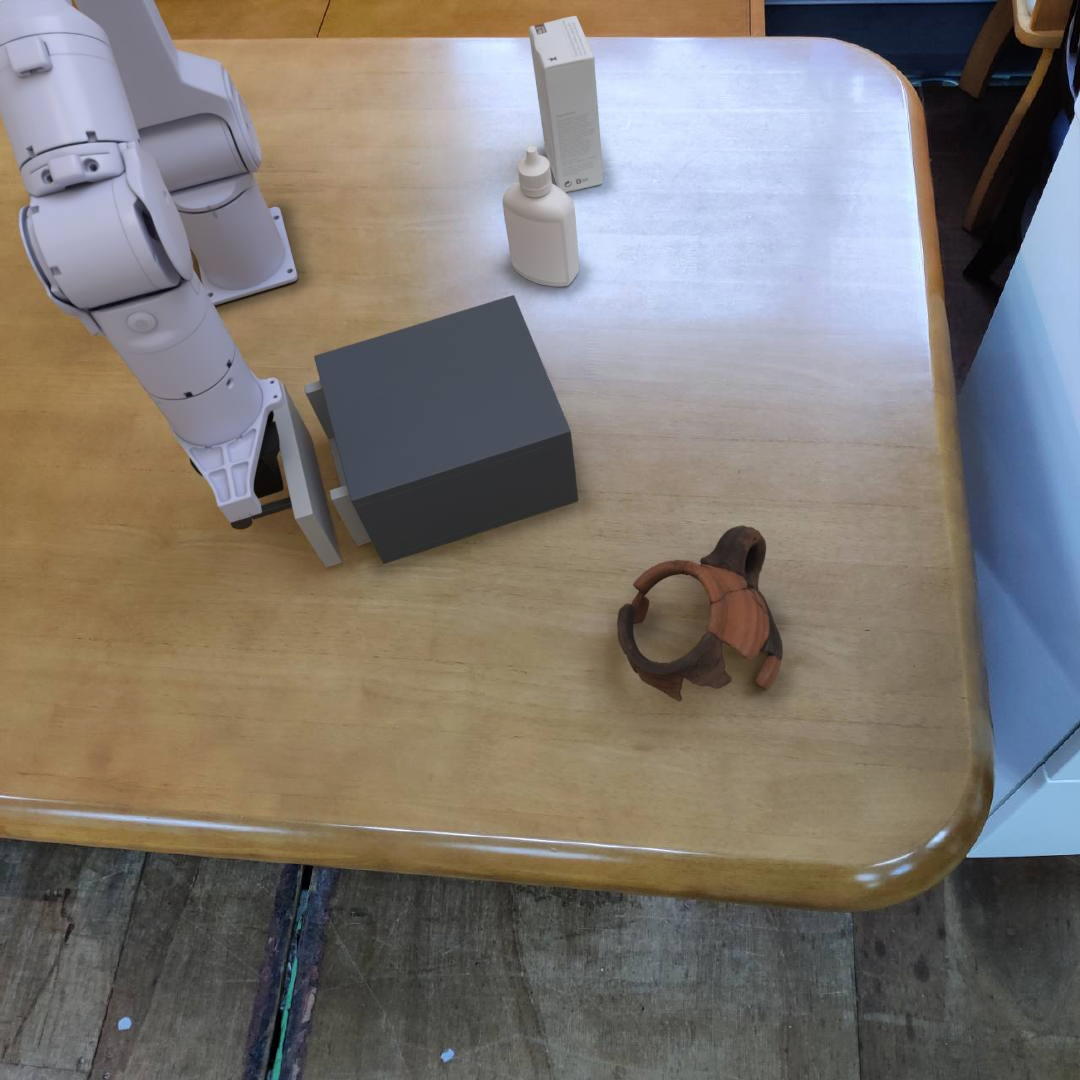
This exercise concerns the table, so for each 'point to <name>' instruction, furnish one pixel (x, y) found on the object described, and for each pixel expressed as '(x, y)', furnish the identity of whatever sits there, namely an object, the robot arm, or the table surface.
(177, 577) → the table surface
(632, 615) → the pottery mug
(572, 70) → the cosmetic box
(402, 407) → the cabinet
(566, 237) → the eye dropper bottle
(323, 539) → the drawer
